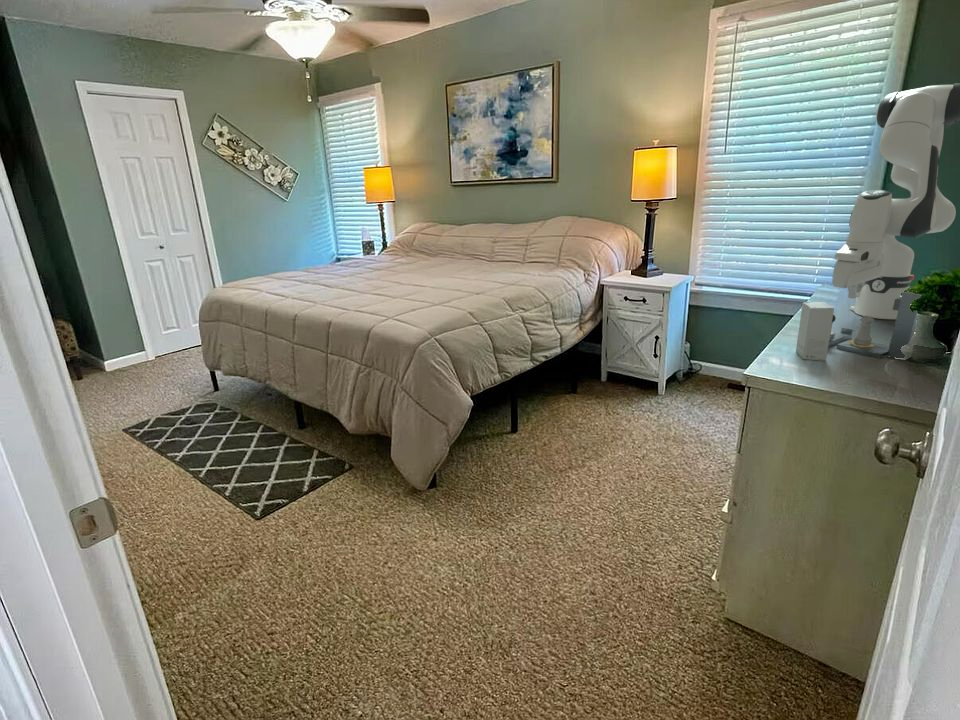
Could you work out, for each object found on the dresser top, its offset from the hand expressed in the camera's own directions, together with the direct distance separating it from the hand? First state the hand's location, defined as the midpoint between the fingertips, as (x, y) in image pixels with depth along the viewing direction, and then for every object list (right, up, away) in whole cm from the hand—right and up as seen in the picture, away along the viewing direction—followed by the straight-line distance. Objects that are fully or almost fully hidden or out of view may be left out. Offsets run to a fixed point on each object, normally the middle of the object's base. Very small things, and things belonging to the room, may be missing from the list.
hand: (853, 297), depth 150 cm
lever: (-8, -12, +1) cm, 15 cm away
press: (0, -15, -4) cm, 16 cm away
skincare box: (-17, -17, -6) cm, 25 cm away
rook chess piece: (0, -14, -3) cm, 14 cm away
